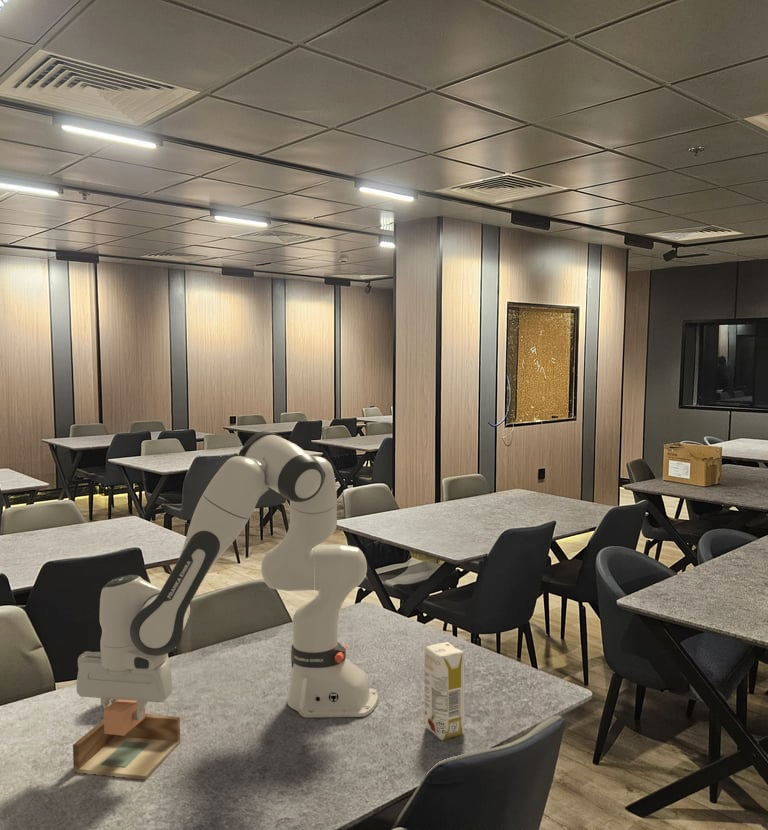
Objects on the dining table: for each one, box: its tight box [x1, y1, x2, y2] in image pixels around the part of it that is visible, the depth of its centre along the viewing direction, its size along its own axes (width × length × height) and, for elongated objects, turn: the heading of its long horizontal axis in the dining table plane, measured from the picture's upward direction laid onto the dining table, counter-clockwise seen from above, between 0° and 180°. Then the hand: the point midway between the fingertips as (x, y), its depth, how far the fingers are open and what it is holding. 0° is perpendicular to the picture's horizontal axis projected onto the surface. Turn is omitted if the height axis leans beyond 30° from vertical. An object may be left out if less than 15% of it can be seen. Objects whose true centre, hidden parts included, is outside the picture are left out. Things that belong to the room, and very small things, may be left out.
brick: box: [103, 699, 146, 736], centre depth 152 cm, size 8×4×5 cm, turn 167°
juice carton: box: [424, 641, 466, 741], centre depth 164 cm, size 8×9×19 cm
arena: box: [72, 713, 181, 781], centre depth 153 cm, size 16×15×6 cm
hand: (124, 718), depth 152 cm, fingers closed on brick, 5 cm apart
